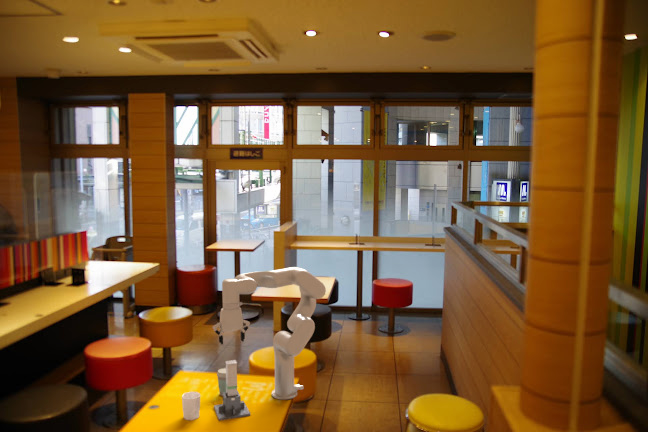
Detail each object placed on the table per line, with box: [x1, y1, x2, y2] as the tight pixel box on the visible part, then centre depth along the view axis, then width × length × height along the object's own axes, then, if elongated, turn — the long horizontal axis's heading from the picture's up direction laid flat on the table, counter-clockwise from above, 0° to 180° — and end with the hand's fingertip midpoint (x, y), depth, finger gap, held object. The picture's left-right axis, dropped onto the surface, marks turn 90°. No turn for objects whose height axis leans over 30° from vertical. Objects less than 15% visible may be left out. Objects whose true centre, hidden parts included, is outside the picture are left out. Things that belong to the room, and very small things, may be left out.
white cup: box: [181, 391, 201, 421], centre depth 232 cm, size 8×8×10 cm
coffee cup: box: [216, 367, 226, 397], centre depth 256 cm, size 8×8×12 cm
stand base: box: [213, 390, 251, 421], centre depth 237 cm, size 14×14×8 cm
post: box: [224, 359, 238, 398], centre depth 236 cm, size 5×5×16 cm
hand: (232, 342), depth 238 cm, fingers open, 9 cm apart
